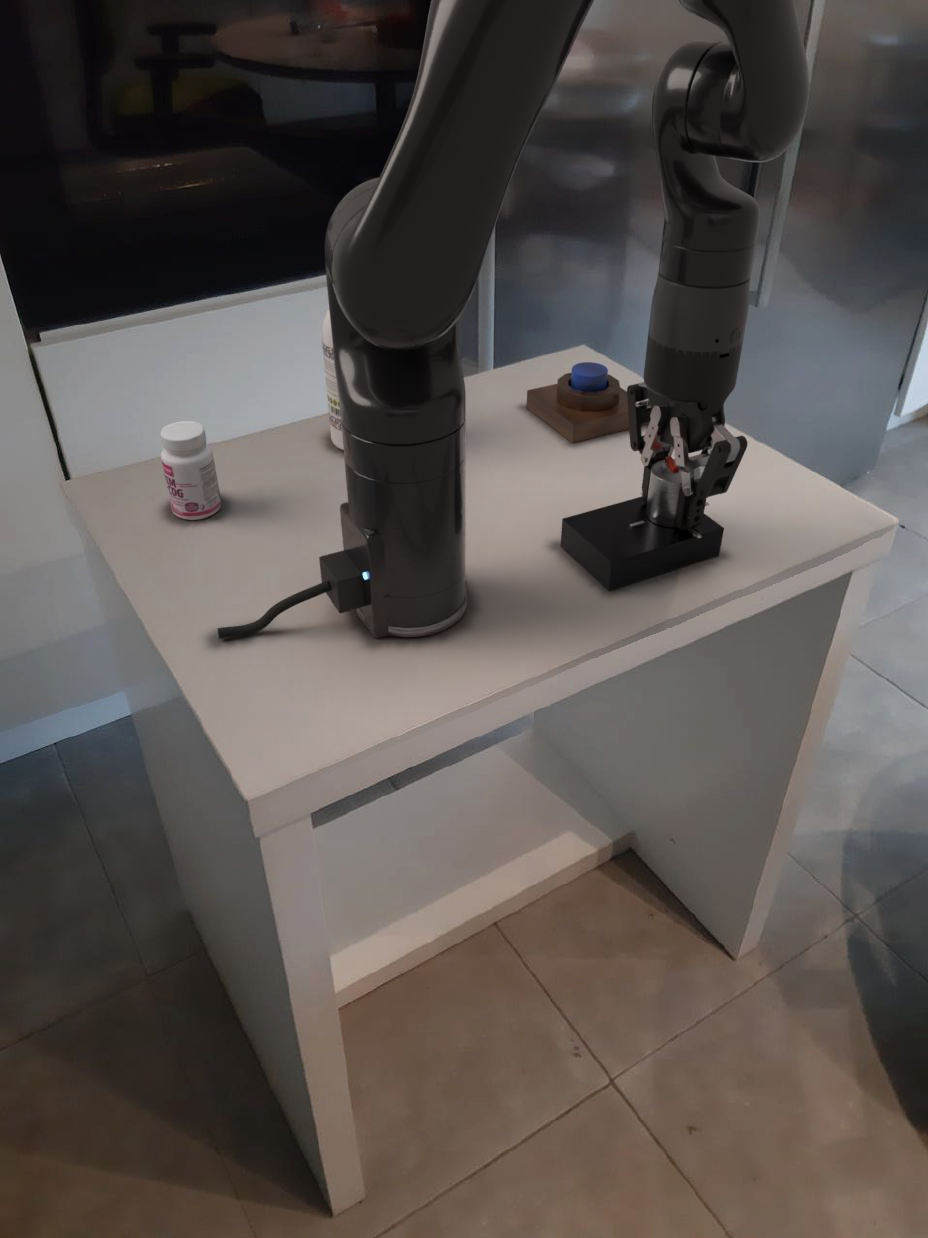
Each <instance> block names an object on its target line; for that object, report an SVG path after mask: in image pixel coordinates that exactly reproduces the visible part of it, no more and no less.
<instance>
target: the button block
mask: <svg viewBox="0 0 928 1238" xmlns="http://www.w3.org/2000/svg"><path fill="white" fill-rule="evenodd" d="M571 373H572V371H571V372H567V373H564V374H563V375H562V376H560V377H559V378H557V383H554V384H550V385H544V386H541V387H536V388H532V389H528V390H526V409H527V410H529V411H530V412H531V413H532V414H534V415H535V416H536V417H538V418H539V419H540V420H541V421H543V422H544V423H545V424H547V425H548V426H549V427H551V428H552V429H554V431H556V432H557V433H559V434H560V435H561V436H562V437H564V438H565V439H566V440H568V441H569V442H570V443H571V444H574V443H578V442H582V441H587V440H590V439H594V438H598V437H602V436H606V435H607V436H608V435H611V434H614V433H619V432H623V431H627V430H629V417H628V401H627V390H625V389H624V388H622V387H621V385H620V380H619V379H618V378H615V377H614V376H612V375H611V374H609V373H608V376H607V386H606V389H605V390H602V391H597V392H583V391H580V390H576V389H573V388H572V387H571ZM642 426H647V422H646V423H643V424H642V425H641V427H642Z"/></svg>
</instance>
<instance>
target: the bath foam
mask: <svg viewBox="0 0 928 1238" xmlns="http://www.w3.org/2000/svg"><path fill="white" fill-rule="evenodd" d="M321 343H322V344H321V345H322V356H323V367H324V376H325V377H324V378H325V388H326V399H327V400H326V401H327V411H328V419H329V429H330V438H331V439H330V440H331V442H332V443H333V445H334V446H335V447H336V448H338V449H340V450H341V451H344V447H343V435H342V423H341V422H342V421H341V412H340V402H339V395H338V387H337V380H336V373H335V365H334V355H333V342H332V332H331V322H330V311H329V308H328V309H327V311H326V313H325V315H324V319H323V322H322V331H321Z"/></svg>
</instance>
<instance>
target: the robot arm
mask: <svg viewBox="0 0 928 1238" xmlns="http://www.w3.org/2000/svg"><path fill="white" fill-rule="evenodd" d="M678 1H679V4H680V6H682V8H684V10H686V11H687V12H689V13H691V14H693V15H695V16H697V17H699V18H701V19H703V20H705V21H707V22H709V23H711V24H713V25H715V26H717V27H718V28H719V29H720V30H721V31H722V32H723V33H724V34H725V35H726V38H727V40H728V41H727V42H726V41H725V42H724V41H716V40H709V39H708V40H706V39H695V40H689V41H687V42H684V43H683V44H681V45H680V46H678V47H677V48H675V50H674V51H672V52H671V54H670V56H669V57H668V58H667V59H666V60H665V62H664V64H663V66H662V67H661V70H660V71H659V74H658V77H657V80H656V83H655V86H654V91H653V95H652V100H651V101H652V103H651V126H652V135H653V141H654V149H655V155H656V162H657V169H658V176H659V178H658V179H659V186H660V193H661V201H662V208H663V219H664V220H663V228H662V238H661V249H660V256H659V265H658V272H657V273H658V274H657V278H656V281H655V286H654V289H653V294H652V300H651V305H650V313H649V314H650V315H649V322H648V323H649V324H648V331H647V341H646V351H645V358H644V366H643V367H644V368H643V376H642V377H643V381H642V382H639V383H633V384H630V385H628V386H627V388H626V391H627V401H628V417H629V429H628V430H629V431H628V433H629V445H630V446H629V447H630V448H631V450H632V451H633V452H639V454H640V462H641V464H642V465H643V474H642V480H641V481H642V483H641V493H642V495H641V497H642V500H643V501H644V502H645V503H646V504H647V497H648V490H649V482H650V474H651V468H652V466H653V465H654V464H655V463H656V462H659V461H661V460H665V457H669V456H671V457H672V455H673V453H674V459H675V464H676V467H677V468H678V469H680V470H681V481H682V491H683V492H680V497H679V504H678V511H677V518H676V527H677V528H678V529H680V530H681V531H686V530H689V529H692V528H695V527H697V526H698V525H700V524H701V522H702V521H703V516H704V515H703V514H705V509H706V506H705V504H706V502H707V499H708V498H710V497H713V496H716V495H722V494H725V493H727V492H728V490H729V488H730V486H731V485H732V482H733V480H734V477H735V475H736V473H737V471H738V468H739V466H740V464H741V461H742V459H743V457H744V455H745V453H746V451H747V448H748V440H747V438H746V436H744V435H737V436H734V435H733V434H732V433H731V432H730V430H728V429H727V428H726V427H725V426H726V416H725V415H726V414H725V408H724V407H725V406H724V405H725V403H726V400H727V399H728V397H729V396H730V395H731V393H732V392H733V391H734V389H735V388H736V385H737V380H738V373H739V369H740V368H739V367H740V361H741V357H742V350H743V346H744V345H743V344H744V337H745V332H746V326H747V321H748V315H749V309H750V290H751V289H750V287H751V277H752V273H753V265H754V260H755V255H756V248H757V241H758V236H759V231H760V223H761V207H760V204H759V202H758V201H757V200H756V198H755V197H754V196H752V195H750V194H748V192H747V193H746V192H745V191H744V190H741V189H740V188H738V187H736V186H734V185H732V184H731V183H729V182H727V180H726V179H724V178H723V176H722V175H721V173H720V170H719V167H718V164H717V163H718V162H717V159H716V157H718V158H719V157H720V158H724V159H731V160H736V161H742V162H748V163H766V162H767V163H768V162H770V161H773V160H775V159H777V158H779V157H780V156H782V155H783V154H784V153H785V152H786V151H787V150H788V149H789V148H790V147H791V146H792V144H793V143H794V141H795V140H796V138H797V137H798V136H799V133H800V131H801V129H802V127H803V125H804V122H805V118H806V115H807V111H808V106H809V97H810V73H809V67H808V59H807V54H806V50H805V45H804V41H803V36H802V31H801V27H800V21H799V16H798V11H797V6H796V1H795V0H678ZM594 2H595V0H431V1H430V5H429V11H428V15H427V21H426V27H425V33H424V34H425V35H424V38H423V45H422V51H421V56H420V62H419V67H418V72H417V77H416V80H415V84H414V89H413V93H412V96H411V100H410V103H409V105H408V109H407V112H406V114H405V117H404V120H403V122H402V126H401V128H400V130H399V133H398V135H397V137H396V140H395V142H394V144H393V146H392V149H391V151H390V153H389V155H388V158H387V160H386V162H385V164H384V167H383V169H382V171H381V173H380V176H379V177H375V178H372V179H368V180H366V181H364V182H362V183H360V184H357V186H355V187H354V188H352V189H351V190H350V191H349V192H347V193H346V194H345V195H344V196H343V198H342V199H340V201H339V202H338V204H337V205H336V207H335V208H334V210H333V212H332V214H331V216H330V218H329V221H328V224H327V227H326V231H325V238H324V265H325V266H324V267H325V277H326V288H327V300H328V309H329V311H330V322H331V332H332V342H333V355H334V365H335V373H336V380H337V387H338V395H339V402H340V412H341V421H342V422H341V423H342V435H343V447H344V450H343V458H344V471H345V482H346V483H345V484H346V493H347V494H346V495H347V501H346V502H343V503H340V505H339V514H340V525H341V537H342V546H343V547H342V548H343V549H342V550H340V551H336V552H333V553H329V554H325V555H321V556H319V557H318V561H319V569H320V570H319V571H320V578H321V582H320V583H317V584H315V585H313V586H311V587H308V588H306V589H303V590H300V591H298V592H296V593H294V594H291V595H290V596H287V597H286V598H284V599H282V600H280V601H279V602H277V603H275V604H274V605H273V606H271V607H269V609H268V610H267V611H266V612H265V613H264V614H263V615H262V616H261V617H260V618H259V619H257V620H255V621H253V622H250V623H247V624H243V625H234V626H233V625H232V626H225V627H218V628H217V634H218V639H225V638H236V637H243V636H244V637H245V636H248V635H249V636H250V635H252V634H255V633H258V632H260V631H262V630H264V629H265V628H266V627H268V626H269V625H270V624H271V623H272V622H273V621H274V620H275V619H276V618H277V617H278V616H279V615H281V614H282V613H284V612H285V611H287V610H289V609H291V608H293V607H295V606H297V605H299V604H301V603H304V602H305V601H308V600H310V599H313V598H316V597H318V596H320V595H323V594H325V595H327V597H328V598H329V600H330V602H331V603H332V604H333V606H334V607H335V609H336V610H337V611H338V613H339V614H344V613H347V612H350V611H353V610H354V611H355V612H356V614H357V616H358V618H359V619H360V620H361V621H362V622H363V624H364V625H365V626H366V628H367V629H368V631H369V632H370V633H371V635H372V636H373V637H374V638H376V639H379V638H382V637H386V636H387V637H388V636H392V637H399V638H401V637H402V638H413V637H414V638H416V637H425V636H430V635H434V634H437V633H440V632H442V631H445V630H446V629H448V628H451V627H452V626H454V624H456V623H458V621H459V620H460V619H461V618H462V617H463V615H464V614H465V611H466V609H467V605H468V593H467V592H468V591H467V579H466V577H467V575H466V574H467V572H466V571H467V570H466V556H467V555H466V551H467V550H466V543H467V541H466V539H467V538H466V536H467V535H466V531H467V530H466V526H467V525H466V515H467V514H466V512H467V511H466V500H467V499H466V454H467V453H466V452H467V451H466V450H467V449H466V447H467V444H466V441H467V440H466V432H467V431H466V429H467V427H466V425H467V424H466V421H467V420H466V416H467V415H466V411H467V410H466V409H467V408H466V407H467V406H466V405H467V404H466V399H467V398H466V397H467V396H466V392H467V391H466V384H465V383H466V381H465V377H464V372H463V366H462V360H461V354H460V347H459V346H460V345H459V336H458V320H459V319H460V318H461V316H462V314H464V312H465V311H466V309H467V306H468V305H469V303H470V301H471V298H472V296H473V293H474V290H475V288H476V284H477V282H478V279H479V276H480V273H481V270H482V267H483V263H484V261H485V257H486V255H487V251H488V248H489V245H490V242H491V240H492V236H493V233H494V230H495V227H496V224H497V221H498V219H499V215H500V212H501V211H502V210H501V209H502V206H503V204H504V200H505V197H506V194H507V192H508V188H509V186H510V184H511V181H512V178H513V175H514V173H515V170H516V168H517V165H518V162H519V160H520V158H521V155H522V154H523V153H522V152H523V150H524V148H525V146H526V144H527V143H528V140H529V138H530V136H531V133H532V131H533V129H534V127H535V125H536V123H537V121H538V119H539V117H540V116H541V113H542V111H543V109H544V108H545V105H546V103H547V101H548V99H549V97H550V95H551V93H552V92H553V89H554V87H555V85H556V83H557V81H558V79H559V77H560V74H561V72H562V70H563V67H564V66H565V63H566V61H567V59H568V57H569V54H570V53H571V50H572V48H573V46H574V43H575V42H576V40H577V37H578V34H579V32H580V30H581V28H582V26H583V24H584V21H585V20H586V17H587V16H588V13H589V11H590V9H591V7H592V5H593V3H594ZM646 422H647V425H646V430H645V433H644V435H642V426H641V425H642V424H643V423H646ZM699 451H701V452H700V453H699V454H696V455H691V456H689V454H693V453H696V452H699ZM698 467H699V470H700V478H699V479H695V480H694V470H695V469H696V468H698Z"/></svg>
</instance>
